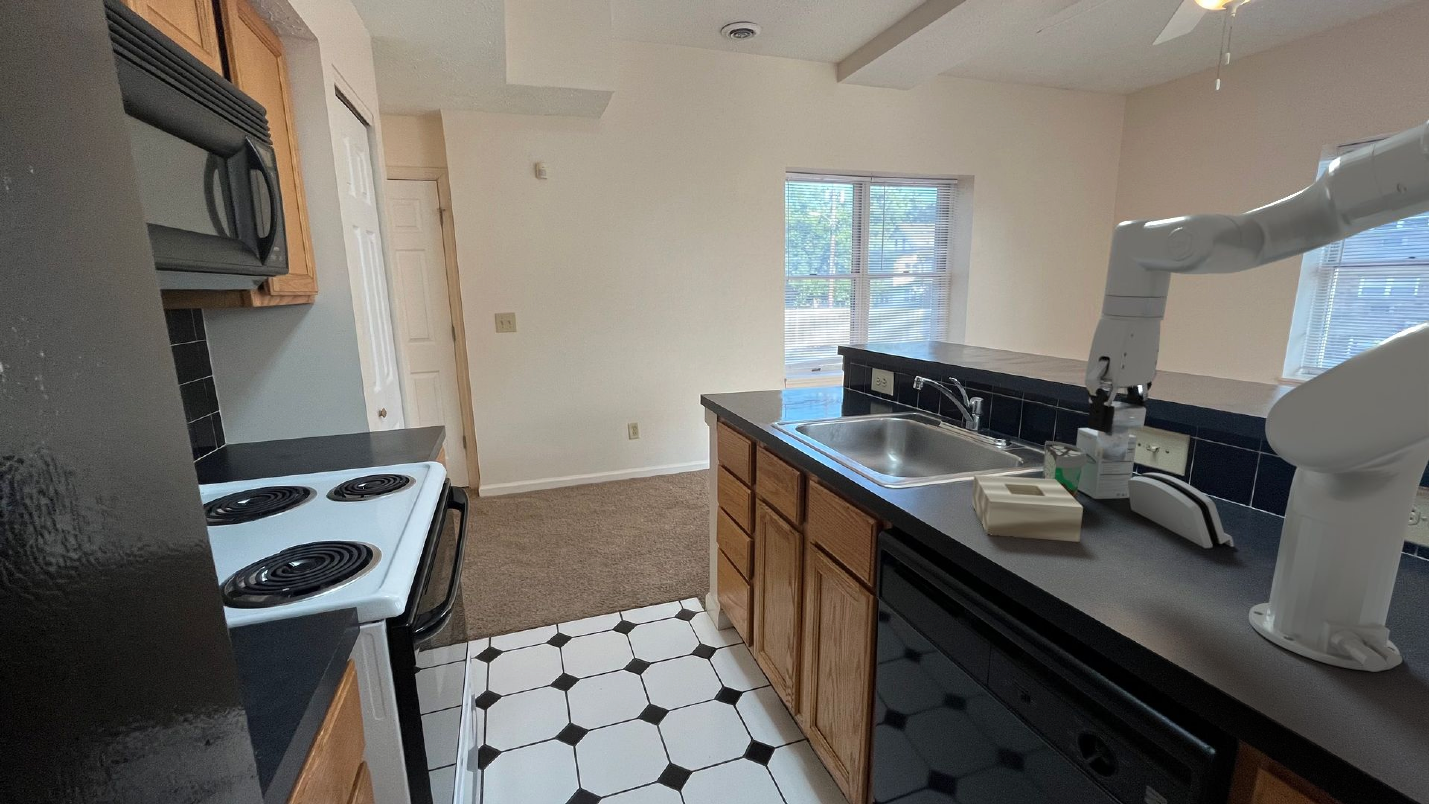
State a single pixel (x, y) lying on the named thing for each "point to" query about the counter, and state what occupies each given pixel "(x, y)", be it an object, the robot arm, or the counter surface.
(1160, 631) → the counter surface
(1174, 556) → the counter surface
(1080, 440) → the supplement box
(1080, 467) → the food container
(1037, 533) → the block
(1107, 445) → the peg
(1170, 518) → the white curved block
